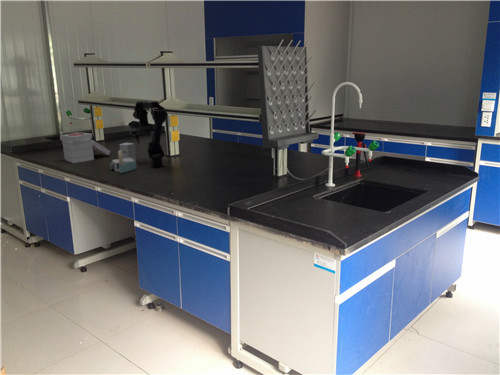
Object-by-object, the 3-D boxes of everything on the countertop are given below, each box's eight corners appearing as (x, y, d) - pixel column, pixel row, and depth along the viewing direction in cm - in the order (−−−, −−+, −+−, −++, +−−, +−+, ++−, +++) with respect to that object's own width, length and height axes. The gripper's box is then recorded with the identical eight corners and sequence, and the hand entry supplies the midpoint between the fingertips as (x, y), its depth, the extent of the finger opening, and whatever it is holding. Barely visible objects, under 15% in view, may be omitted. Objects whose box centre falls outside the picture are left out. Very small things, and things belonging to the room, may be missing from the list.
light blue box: (131, 165, 284) (130, 157, 283) (135, 169, 276) (134, 160, 274) (109, 168, 278) (108, 160, 276) (112, 171, 270) (111, 163, 268)
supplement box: (120, 162, 295) (118, 144, 291) (128, 160, 301) (126, 142, 297) (128, 163, 291) (127, 145, 288) (136, 161, 298) (134, 143, 294)
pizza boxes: (112, 157, 312) (109, 132, 307) (71, 164, 292) (67, 137, 287) (100, 153, 325) (97, 129, 320) (60, 160, 306) (56, 134, 301)
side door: (135, 168, 276) (133, 147, 272) (137, 168, 275) (135, 147, 271) (119, 172, 266) (116, 150, 262) (121, 173, 265) (119, 151, 261)
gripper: (132, 122, 274) (134, 147, 278) (160, 120, 282) (162, 144, 287) (128, 120, 284) (130, 144, 288) (156, 118, 292) (157, 141, 296)
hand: (145, 143), depth 289 cm, fingers open, 9 cm apart
